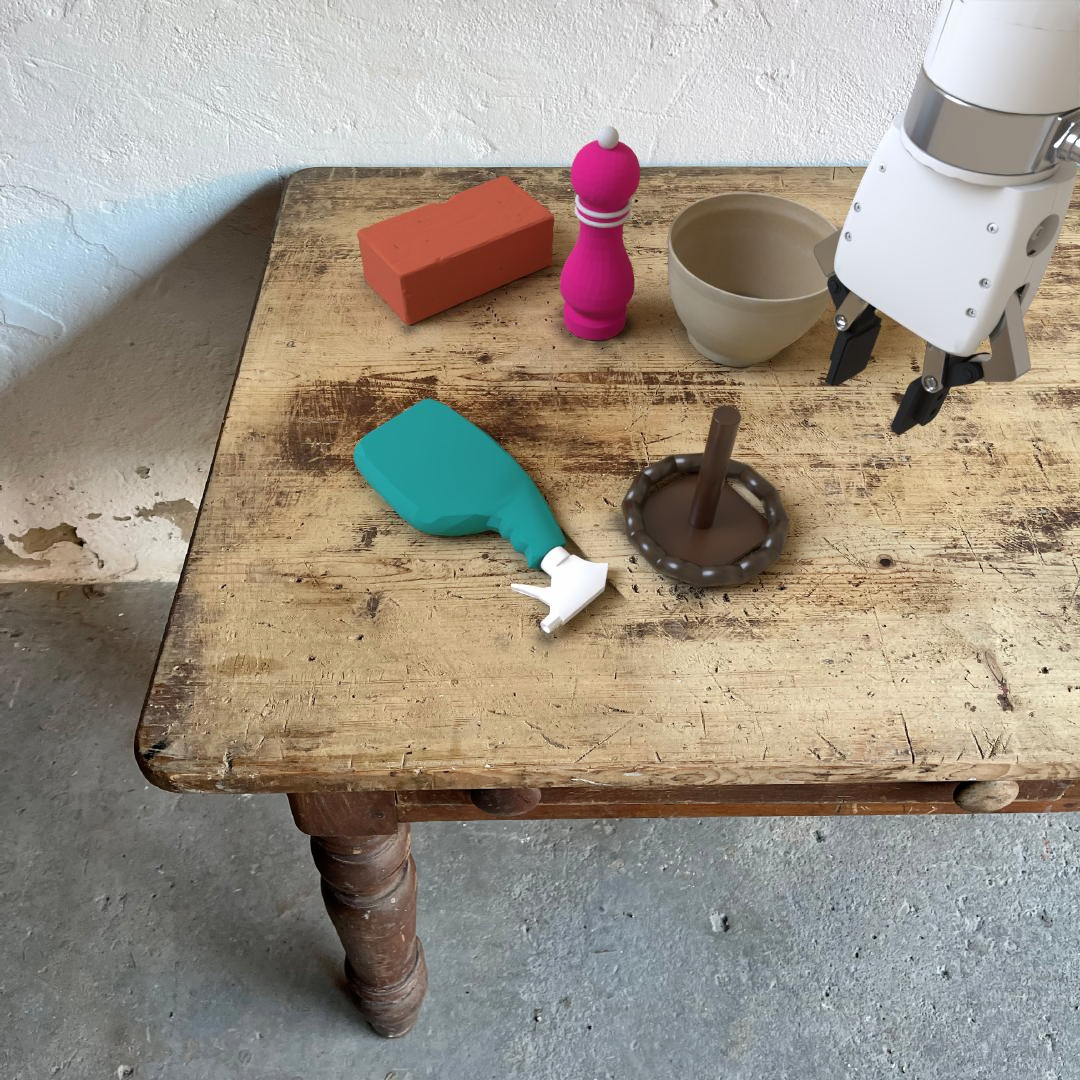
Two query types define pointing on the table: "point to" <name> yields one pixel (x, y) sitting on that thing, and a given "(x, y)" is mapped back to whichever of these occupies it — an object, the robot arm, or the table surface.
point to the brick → (456, 248)
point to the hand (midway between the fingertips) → (877, 397)
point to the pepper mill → (600, 239)
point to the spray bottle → (474, 498)
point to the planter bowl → (747, 274)
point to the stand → (706, 505)
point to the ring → (690, 570)
